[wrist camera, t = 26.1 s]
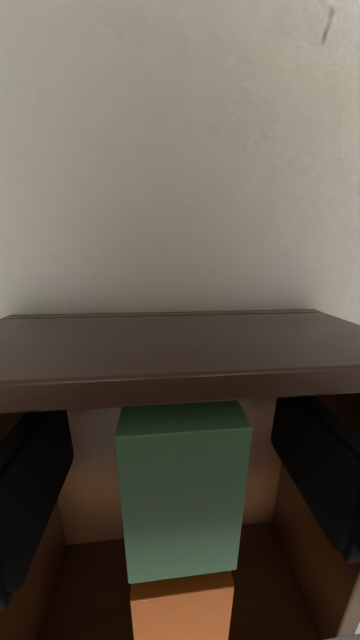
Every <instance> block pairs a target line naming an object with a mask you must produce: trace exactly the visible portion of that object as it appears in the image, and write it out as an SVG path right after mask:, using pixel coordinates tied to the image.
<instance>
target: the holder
mask: <svg viewBox="0 0 360 640" xmlns="http://www.w3.org/2000/svg"><path fill="white" fill-rule="evenodd" d="M301 396H316V397H317V398H318V399H319V400H321V401H322V402H323V403H324V404H325V405H326V406H327V407H328V408H329V409H330V410H332V411H333V412H334V413H335V414H336V415H337V416H338V417H339V418H340V419H341V420H343V421H344V422H345V423H346V424H347V425H348V426H349V427H350V428H351V429H352V430H353V431H355V432H356V433H357V434H358V435H359V436H360V325H357V324H354V323H351V322H349V321H346V320H343V319H340V318H337V317H334V316H331V315H328V314H325V313H322V312H320V311H317V310H263V311H211V312H159V313H107V314H54V315H9V316H7V317H4V318H2V319H0V442H1V441H2V440H3V439H4V437H5V436H6V435H7V434H8V433H9V431H10V430H11V429H12V428H13V427H14V425H15V424H16V423H17V422H18V420H19V419H20V418H21V417H22V416H23V414H24V413H26V412H43V411H60V410H67V415H68V421H69V427H70V433H71V439H72V444H73V450H74V458H73V462H72V465H71V467H70V470H69V472H68V475H67V477H66V480H65V482H64V485H63V487H62V490H61V492H60V494H59V497H58V499H57V502H56V504H55V507H54V509H53V512H52V514H51V517H50V519H49V522H48V524H47V526H46V529H45V531H44V534H43V536H42V539H41V541H40V544H39V546H38V549H37V551H36V554H35V556H34V558H33V561H32V563H31V566H30V568H29V571H28V573H27V576H26V578H25V581H24V583H23V585H22V586H21V588H20V589H19V590H18V591H14V593H13V595H12V598H11V600H10V602H9V605H8V607H7V610H1V611H0V640H134V636H133V626H132V616H131V606H130V595H131V584H129V583H128V575H127V565H126V554H125V544H124V534H123V524H122V514H121V503H120V493H119V483H118V473H117V462H116V452H115V442H114V437H115V433H116V428H117V424H118V420H119V416H120V412H121V407H129V406H146V405H164V404H181V403H198V402H215V401H232V400H238V402H239V403H240V405H241V407H242V409H243V411H244V413H245V414H246V416H247V418H248V420H249V422H250V423H251V425H252V427H253V434H252V443H251V451H250V460H249V468H248V476H247V485H246V493H245V502H244V510H243V519H242V527H241V535H240V544H239V552H238V561H237V569H236V570H231V574H232V578H233V583H234V594H233V603H232V611H231V620H230V628H229V637H228V640H324V639H331V638H337V637H343V636H349V635H354V634H355V631H356V629H357V627H358V624H359V622H360V562H356V563H348V564H347V563H346V562H345V560H344V559H343V557H342V555H341V554H340V552H339V550H336V549H334V548H333V547H332V546H331V544H330V543H329V541H328V539H327V538H326V536H325V534H324V533H323V531H322V529H321V527H320V526H319V524H318V522H317V521H316V519H315V517H314V516H313V514H312V512H311V511H310V509H309V507H308V506H307V504H306V502H305V500H304V499H303V497H302V495H301V494H300V492H299V490H298V489H297V487H296V485H295V484H294V482H293V480H292V478H291V477H290V475H289V473H288V472H287V470H286V468H285V467H284V465H283V463H282V462H281V460H280V458H279V457H278V455H277V453H276V451H275V450H274V448H273V446H272V443H271V432H272V426H273V420H274V413H275V407H276V401H277V398H284V397H301Z"/></svg>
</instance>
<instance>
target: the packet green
mask: <svg viewBox="0 0 360 640" xmlns="http://www.w3.org/2000/svg"><path fill="white" fill-rule="evenodd" d="M252 434H253V427H252V425H251V423H250V422H249V420H248V418H247V416H246V414H245V413H244V411H243V409H242V407H241V405H240V403H239V402H238V400H232V401H215V402H198V403H181V404H164V405H146V406H129V407H121V412H120V416H119V420H118V424H117V428H116V433H115V437H114V442H115V452H116V462H117V473H118V483H119V493H120V503H121V514H122V524H123V534H124V544H125V554H126V565H127V575H128V583H129V584H133V583H141V582H148V581H156V580H163V579H171V578H178V577H186V576H193V575H201V574H209V573H216V572H224V571H231V570H236V569H237V561H238V552H239V544H240V535H241V527H242V519H243V510H244V502H245V493H246V485H247V476H248V468H249V460H250V451H251V443H252Z"/></svg>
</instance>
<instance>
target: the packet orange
mask: <svg viewBox="0 0 360 640" xmlns="http://www.w3.org/2000/svg"><path fill="white" fill-rule="evenodd" d="M233 594H234V583H233V578H232V574H231V571H224V572H216V573H209V574H201V575H193V576H186V577H178V578H171V579H163V580H156V581H148V582H141V583H133V584H131V595H130V606H131V616H132V626H133V636H134V640H228V637H229V628H230V620H231V611H232V603H233Z"/></svg>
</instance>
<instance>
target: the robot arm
mask: <svg viewBox="0 0 360 640" xmlns="http://www.w3.org/2000/svg"><path fill="white" fill-rule="evenodd" d="M271 443H272V446H273V448H274V450H275V451H276V453H277V455H278V457H279V458H280V460H281V462H282V463H283V465H284V467H285V468H286V470H287V472H288V473H289V475H290V477H291V478H292V480H293V482H294V484H295V485H296V487H297V489H298V490H299V492H300V494H301V495H302V497H303V499H304V500H305V502H306V504H307V506H308V507H309V509H310V511H311V512H312V514H313V516H314V517H315V519H316V521H317V522H318V524H319V526H320V527H321V529H322V531H323V533H324V534H325V536H326V538H327V539H328V541H329V543H330V544H331V546H332V547H333V548H334V549H336V550H339V552H340V554H341V555H342V557H343V559H344V560H345V562H346V563H347V564H348V563H356V562H360V436H359V435H358V434H357V433H356V432H355V431H353V430H352V429H351V428H350V427H349V426H348V425H347V424H346V423H345V422H344V421H343V420H341V419H340V418H339V417H338V416H337V415H336V414H335V413H334V412H333V411H332V410H330V409H329V408H328V407H327V406H326V405H325V404H324V403H323V402H322V401H321V400H319V399H318V398H317V397H316V396H301V397H284V398H277V401H276V407H275V413H274V420H273V426H272V432H271ZM73 458H74V450H73V444H72V439H71V433H70V427H69V421H68V415H67V410H60V411H43V412H26V413H24V414H23V416H22V417H21V418H20V419H19V420H18V422H17V423H16V424H15V425H14V427H13V428H12V429H11V430H10V431H9V433H8V434H7V435H6V436H5V437H4V439H3V440H2V441H1V442H0V611H1V610H7V607H8V605H9V602H10V600H11V598H12V595H13V593H14V591H18V590H19V589H20V588H21V586H22V585H23V583H24V581H25V578H26V576H27V573H28V571H29V568H30V566H31V563H32V561H33V558H34V556H35V554H36V551H37V549H38V546H39V544H40V541H41V539H42V536H43V534H44V531H45V529H46V526H47V524H48V522H49V519H50V517H51V514H52V512H53V509H54V507H55V504H56V502H57V499H58V497H59V494H60V492H61V490H62V487H63V485H64V482H65V480H66V477H67V475H68V472H69V470H70V467H71V465H72V462H73ZM324 640H360V634H356V635H349V636H343V637H337V638H331V639H324Z"/></svg>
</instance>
